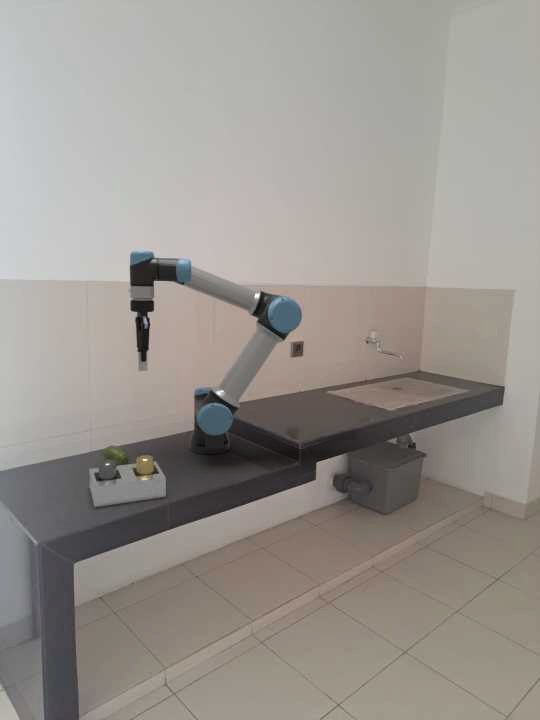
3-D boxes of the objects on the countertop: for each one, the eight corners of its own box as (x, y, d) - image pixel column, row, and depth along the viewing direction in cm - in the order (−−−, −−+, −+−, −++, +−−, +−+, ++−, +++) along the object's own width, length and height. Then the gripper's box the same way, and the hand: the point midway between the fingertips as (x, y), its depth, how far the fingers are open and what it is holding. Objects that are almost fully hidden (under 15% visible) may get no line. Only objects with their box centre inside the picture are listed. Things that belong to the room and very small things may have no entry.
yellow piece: (152, 485, 162) (151, 454, 160) (155, 491, 158) (154, 459, 156) (136, 487, 160) (135, 456, 159) (138, 493, 156) (137, 461, 154)
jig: (155, 479, 167) (155, 449, 165) (165, 496, 154) (165, 464, 153) (89, 487, 159) (88, 456, 157) (94, 507, 146) (93, 473, 145)
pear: (114, 441, 185) (133, 452, 179) (112, 455, 186) (131, 466, 181) (101, 445, 180) (120, 456, 175) (99, 459, 181) (118, 470, 176)
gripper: (127, 298, 175) (128, 367, 179) (133, 300, 163) (134, 375, 167) (149, 298, 178) (150, 366, 182) (158, 300, 166) (158, 373, 170)
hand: (142, 370), depth 175 cm, fingers closed
